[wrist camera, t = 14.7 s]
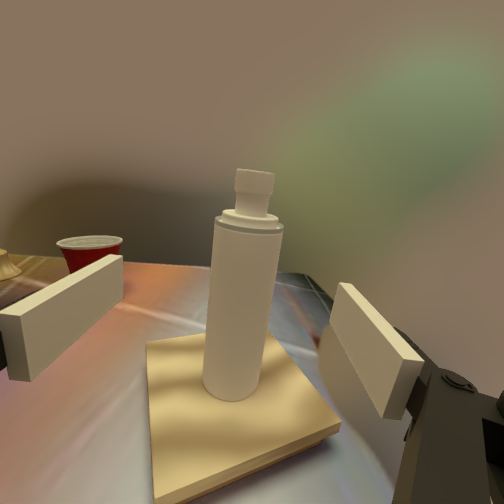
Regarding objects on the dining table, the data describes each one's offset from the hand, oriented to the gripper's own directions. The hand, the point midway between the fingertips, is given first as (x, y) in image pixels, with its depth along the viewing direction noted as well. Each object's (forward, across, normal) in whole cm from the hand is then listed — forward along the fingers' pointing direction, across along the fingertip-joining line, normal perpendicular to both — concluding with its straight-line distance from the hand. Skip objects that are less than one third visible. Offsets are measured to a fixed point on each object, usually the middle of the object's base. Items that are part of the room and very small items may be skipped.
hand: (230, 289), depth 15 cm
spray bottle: (+10, +1, -16) cm, 19 cm away
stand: (+10, +1, -20) cm, 22 cm away
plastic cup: (+32, -29, -21) cm, 48 cm away
